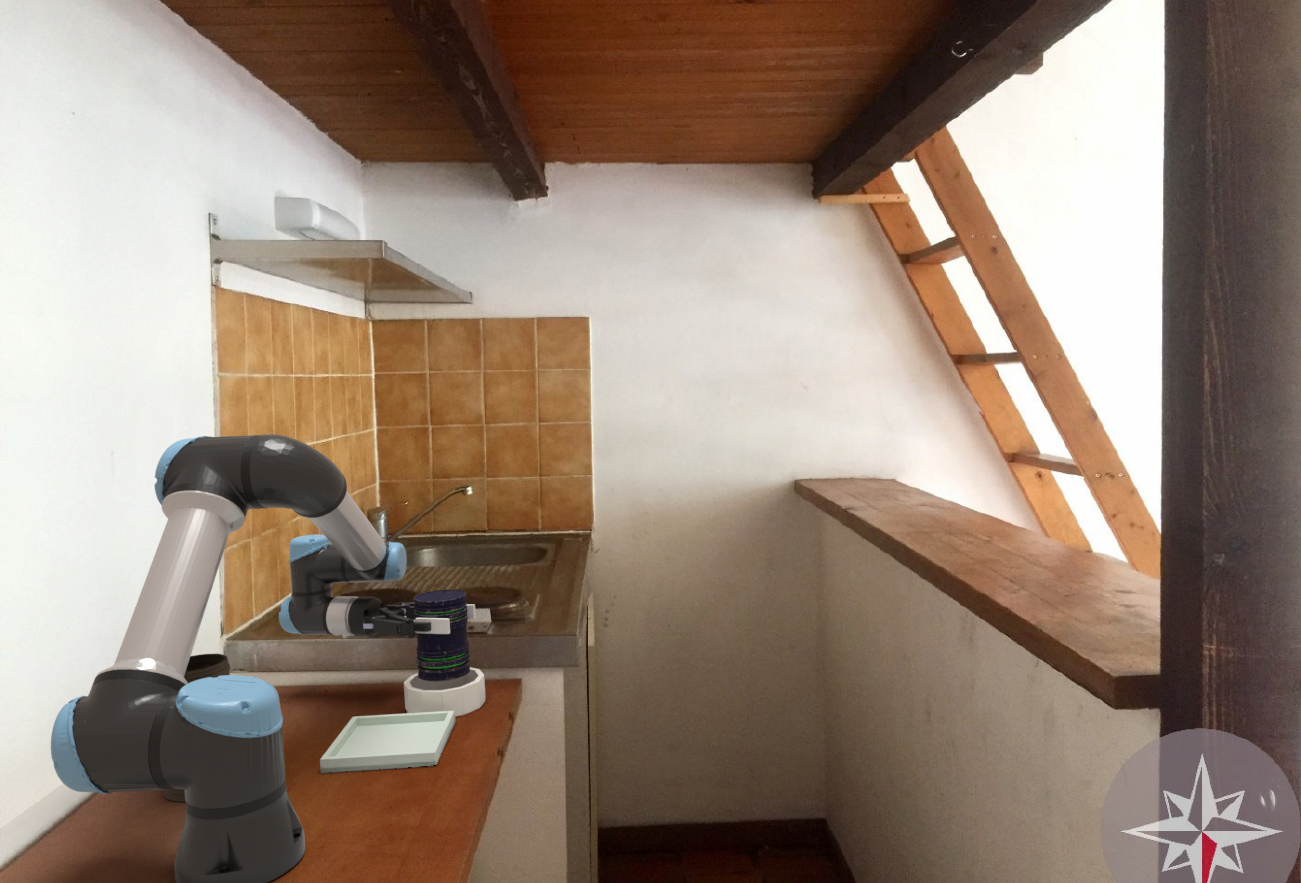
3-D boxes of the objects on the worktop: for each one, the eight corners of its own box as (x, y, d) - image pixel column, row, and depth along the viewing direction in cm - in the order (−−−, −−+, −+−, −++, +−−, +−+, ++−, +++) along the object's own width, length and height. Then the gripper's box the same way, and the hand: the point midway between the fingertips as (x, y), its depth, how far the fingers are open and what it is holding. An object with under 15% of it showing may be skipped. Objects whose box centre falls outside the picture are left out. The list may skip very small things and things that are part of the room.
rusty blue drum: (463, 681, 161) (458, 600, 160) (410, 682, 161) (405, 602, 161) (476, 664, 171) (472, 588, 170) (426, 665, 171) (422, 590, 171)
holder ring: (442, 724, 156) (440, 697, 156) (390, 710, 165) (388, 684, 164) (500, 698, 168) (498, 673, 168) (448, 686, 176) (447, 662, 176)
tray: (435, 766, 139) (435, 752, 139) (320, 773, 138) (319, 759, 138) (455, 722, 157) (454, 710, 157) (353, 728, 156) (352, 716, 156)
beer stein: (259, 770, 140) (242, 648, 139) (220, 802, 129) (201, 670, 128) (170, 776, 142) (152, 655, 141) (124, 808, 131) (104, 678, 130)
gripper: (389, 620, 181) (488, 622, 176) (323, 652, 159) (434, 656, 154) (386, 584, 181) (486, 585, 175) (320, 611, 159) (431, 614, 153)
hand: (462, 618), depth 165 cm, fingers closed on rusty blue drum, 10 cm apart
